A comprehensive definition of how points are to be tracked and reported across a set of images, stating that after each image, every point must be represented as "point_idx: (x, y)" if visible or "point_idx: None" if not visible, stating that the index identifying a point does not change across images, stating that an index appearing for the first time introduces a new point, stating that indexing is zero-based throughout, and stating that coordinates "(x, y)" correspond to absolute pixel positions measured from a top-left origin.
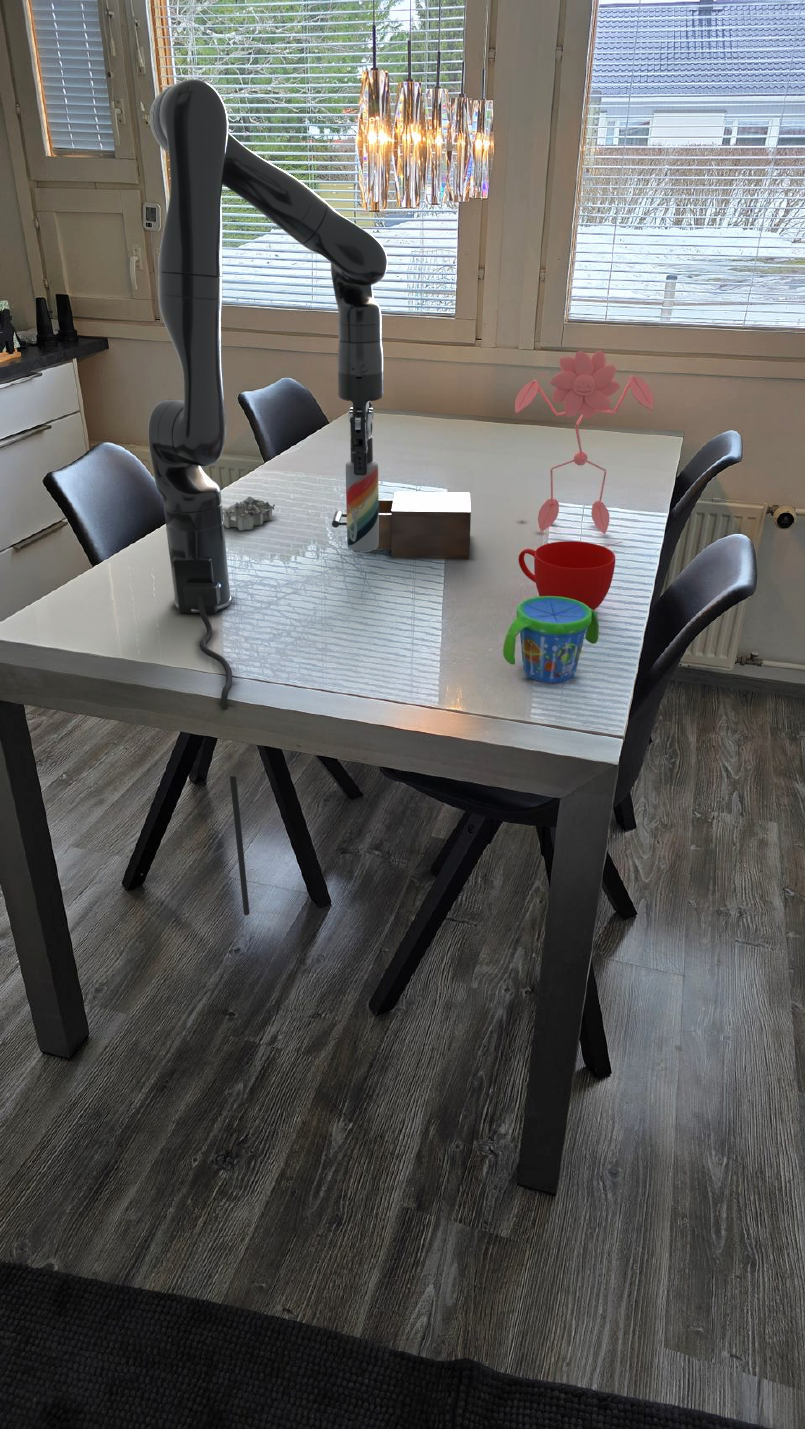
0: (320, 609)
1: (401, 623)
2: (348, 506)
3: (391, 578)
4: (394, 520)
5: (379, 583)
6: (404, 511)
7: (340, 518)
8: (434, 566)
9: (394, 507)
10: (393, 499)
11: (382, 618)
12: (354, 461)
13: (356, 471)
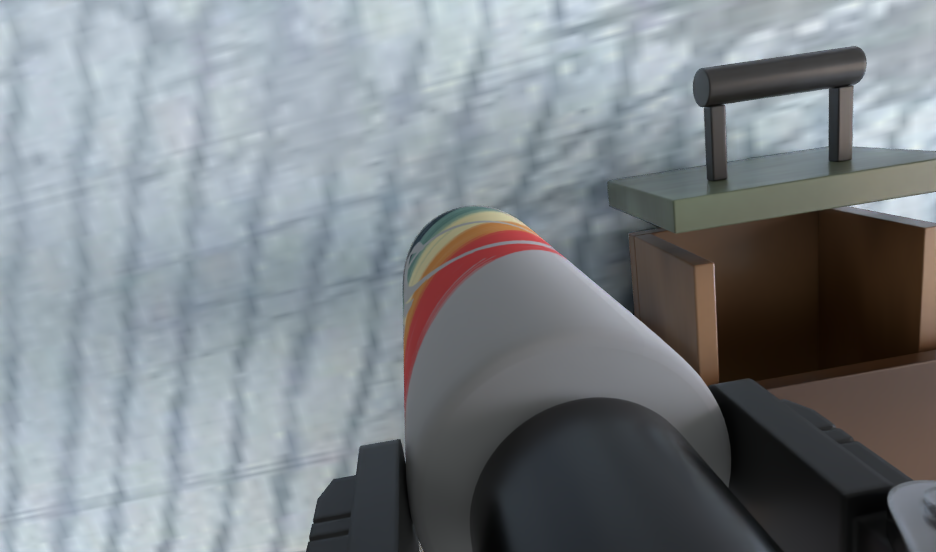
0: (28, 187)
1: (9, 484)
2: (435, 270)
3: (401, 367)
4: None
5: (343, 337)
6: None
7: (777, 95)
8: None
9: None
10: (867, 373)
11: (28, 418)
12: (352, 527)
13: (327, 493)
